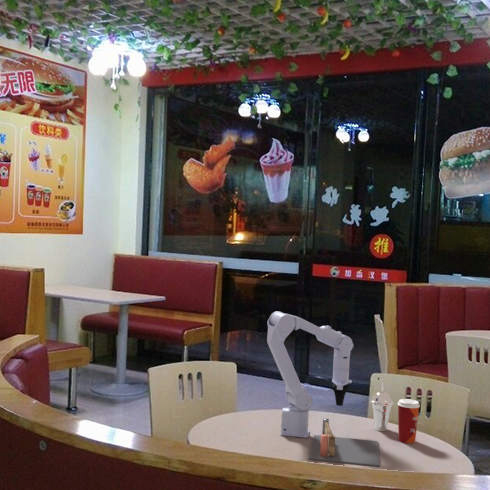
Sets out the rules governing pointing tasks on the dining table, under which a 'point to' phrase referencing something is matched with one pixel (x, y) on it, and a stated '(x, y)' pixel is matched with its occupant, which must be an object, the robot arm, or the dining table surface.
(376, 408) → the cup with straw
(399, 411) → the paper cup
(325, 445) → the post
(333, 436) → the gate
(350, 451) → the mat
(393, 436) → the dining table surface
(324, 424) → the hinge post
